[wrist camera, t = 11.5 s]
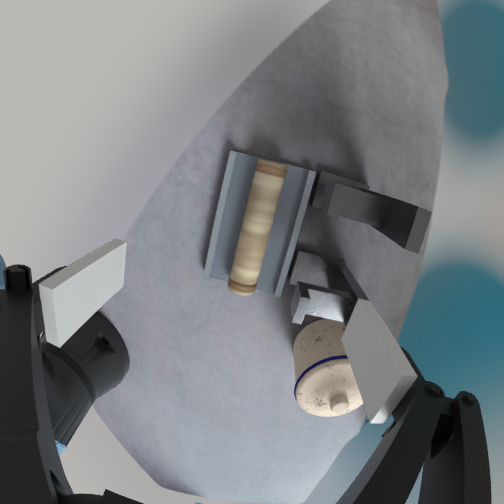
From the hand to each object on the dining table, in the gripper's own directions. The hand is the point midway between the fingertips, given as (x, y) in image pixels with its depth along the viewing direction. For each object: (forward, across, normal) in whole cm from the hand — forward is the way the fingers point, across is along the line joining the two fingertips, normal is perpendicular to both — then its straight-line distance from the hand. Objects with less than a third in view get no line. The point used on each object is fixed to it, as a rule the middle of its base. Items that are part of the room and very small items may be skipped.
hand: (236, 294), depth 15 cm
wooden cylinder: (+17, 0, 0) cm, 17 cm away
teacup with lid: (+18, +13, -12) cm, 25 cm away
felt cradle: (+18, 0, 0) cm, 18 cm away
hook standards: (+18, +8, +1) cm, 19 cm away
